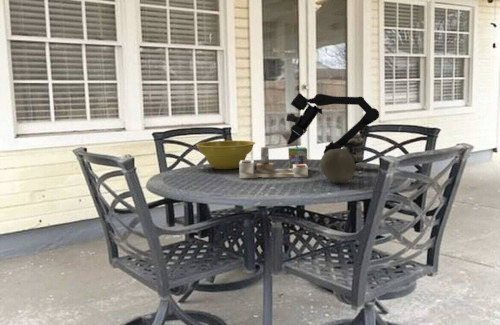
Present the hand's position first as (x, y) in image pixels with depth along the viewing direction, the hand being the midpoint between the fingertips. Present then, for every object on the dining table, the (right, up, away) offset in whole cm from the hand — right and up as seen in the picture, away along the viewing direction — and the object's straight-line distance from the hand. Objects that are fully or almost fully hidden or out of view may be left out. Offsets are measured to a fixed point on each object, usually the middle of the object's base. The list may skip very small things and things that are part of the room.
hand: (289, 143), depth 246 cm
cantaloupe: (+19, -18, -28) cm, 38 cm away
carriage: (-12, -12, -1) cm, 17 cm away
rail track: (-8, -16, -1) cm, 17 cm away
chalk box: (+6, -13, +15) cm, 21 cm away
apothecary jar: (+33, -13, +15) cm, 39 cm away
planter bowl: (-32, -12, +33) cm, 47 cm away
